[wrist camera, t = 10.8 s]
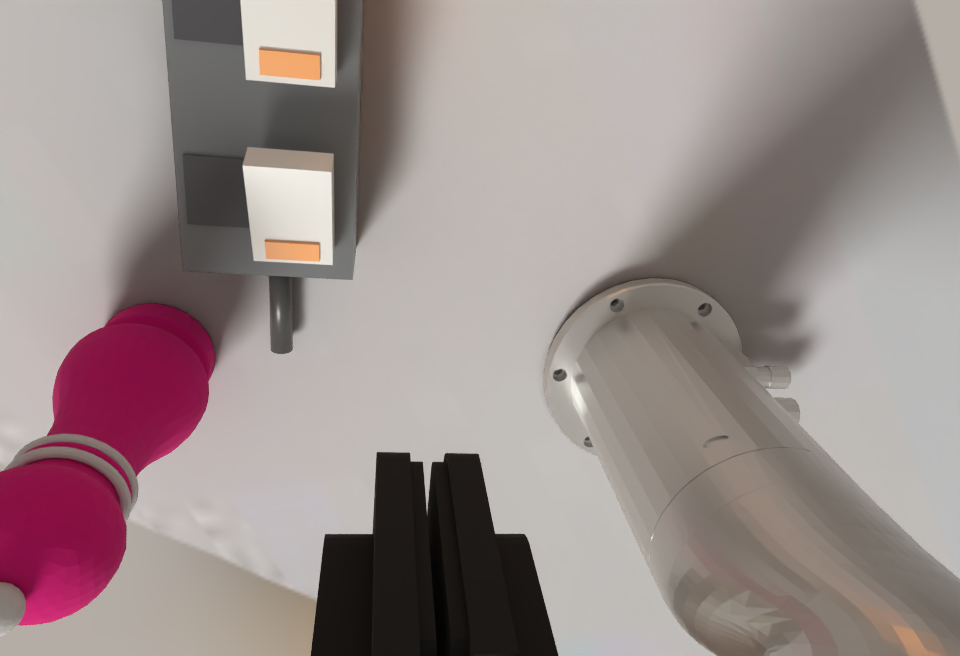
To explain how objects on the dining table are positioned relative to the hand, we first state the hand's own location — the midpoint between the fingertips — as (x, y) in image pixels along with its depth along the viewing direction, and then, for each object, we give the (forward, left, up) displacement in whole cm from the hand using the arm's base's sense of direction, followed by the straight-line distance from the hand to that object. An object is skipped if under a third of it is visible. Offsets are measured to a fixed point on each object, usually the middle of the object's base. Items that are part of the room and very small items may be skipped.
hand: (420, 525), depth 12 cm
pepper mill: (+13, +12, -29) cm, 34 cm away
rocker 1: (+5, -7, -23) cm, 25 cm away
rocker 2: (+5, +1, -23) cm, 24 cm away
